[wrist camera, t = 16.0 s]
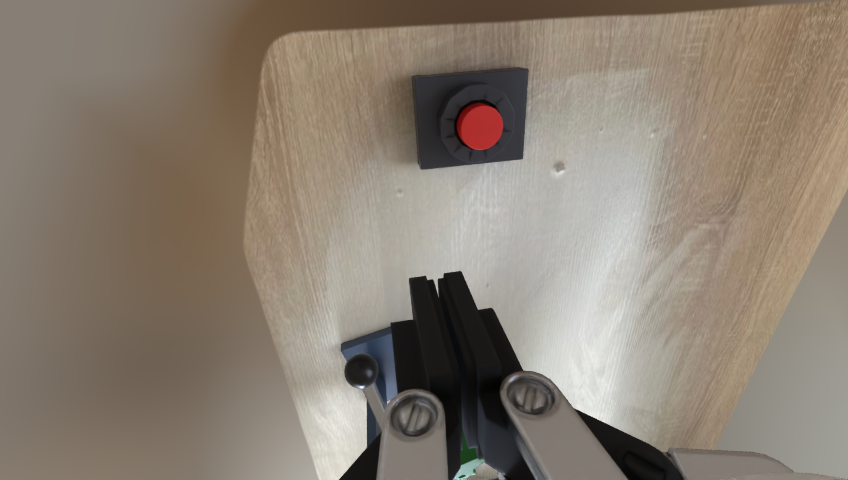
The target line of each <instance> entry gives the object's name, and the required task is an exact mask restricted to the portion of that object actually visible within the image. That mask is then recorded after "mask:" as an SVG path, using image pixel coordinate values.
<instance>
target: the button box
mask: <svg viewBox="0 0 848 480" xmlns="http://www.w3.org/2000/svg"><path fill="white" fill-rule="evenodd" d="M528 70H529V69H526V68H520V67H518V68H505V69H493V70H481V71H468V72H456V73H444V74H431V75H419V76H412V86H413V100H414V114H415V128H416V142H417V155H418V164H419V166H420V168H421V170H424V169H433V168H443V167H452V166H462V165H472V164H481V163H491V162H500V161H510V160H519V159H523V150H524V134H525V118H526V102H527V86H528ZM473 103H484V104H486V105H489V106H490V107H492V108H494V109H496V110H497V111H498V112H499V114H500V115H501V117H502V121H503V130H502V134H501V136H500V138H499V140H498V141H497V142H496V143H495V144H494V145H493V146H491V147H490V148H487V149H484V150H476V149H473V148H471V147H469V146H468V145H467V144H466V143H465V142H464V141H463V140H462V139H461V138H460V137H459V135H458V132H457V120H458V117H459V115H460V113H461V112H462V110H463V109H464V108H466V107H467V106H469V105H471V104H473Z"/></svg>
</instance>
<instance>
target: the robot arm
mask: <svg viewBox="0 0 848 480" xmlns="http://www.w3.org/2000/svg"><path fill="white" fill-rule="evenodd" d="M409 285H410V294H411V304H412V313H413V320H407V321H400V322H394V323H391V332H392V343H393V353H394V363H395V373H396V383H397V393H398V394H397V395H396V396H395V397H394V398H392V399H391V400H390V402H389V403H388V405H387V406H386V409H385V412H384V416H383V425H382V431H381V432H380V434H379V435H378V436H377V437H376V438H375V439H374V440H373V442H372V443H371V444H370V445H369V446H368V447H367V448H366V450H365V451H364V452H363V453H362V454H361V455H360V456H359V457H358V459H357V460H356V461H355V462H354V463H353V464H352V465H351V467H350V468H349V469H348V470H347V471H346V472H345V473H344V475H343V476H342V477H341V478H340V479H339V480H453V479H454V477H455V476H456V474H457V473H458V471H459V470H460V468H461V458H460V450H463V437H462V427H463V431H464V435H465V439H466V443H467V446H468V448H469V449H470V448H475V449H476V453H477V457H478V460H482V459H484V461H485V463H486V464H488V465H489V466H491V467H492V468H494V469H495V470H497V474H498V477H499V480H848V479H843V478H838V477H833V476H826V475H819V474H811V473H795V472H794V471H793V470H791V469H790V468H788V467H787V466H786V465H784V464H783V463H781V462H780V461H778V460H776V459H774V458H772V457H769V456H767V455H765V454H760V453H754V452H742V451H723V450H703V449H683V448H669V449H668V452H661V451H660V450H658V449H656V448H655V447H653V446H651V445H650V444H648V443H646V442H643V441H641V440H639V439H637V438H635V437H633V436H631V435H629V434H627V433H625V432H623V431H620V430H618V429H616V428H614V427H612V426H610V425H608V424H606V423H604V422H602V421H599V420H597V419H595V418H593V417H591V416H589V415H587V414H585V413H583V412H581V411H579V410H576V409H574V408H573V407H572V405H571V404H570V403H569V402H568V400H567V399H566V398H565V396H564V395H563V394H562V392H561V391H560V390H559V388H558V387H557V386H556V385H555V384H554V383H553V382H552V381H551V380H550V379H549V378H547V377H545V376H544V375H542V374H539V373H536V372H533V371H523V369H522V367H521V365H520V363H519V361H518V359H517V357H516V355H515V352H514V350H513V348H512V346H511V344H510V342H509V340H508V338H507V336H506V334H505V332H504V330H503V328H502V326H501V324H500V322H499V320H498V318H497V315H496V313H495V312H494V310H493V309H492V308H487V309H481V310H478V309H477V307H476V304H475V302H474V300H473V297H472V295H471V293H470V290H469V288H468V286H467V283H466V281H465V279H464V276H463V274H462V272H461V271H458V272H450V273H444V278H440V279H438V292H439V297H438V294H437V291H436V287H435V284H434V281H433V280H427V278H426V276H421V277H414V278H409Z"/></svg>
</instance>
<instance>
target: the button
mask: <svg viewBox="0 0 848 480" xmlns="http://www.w3.org/2000/svg"><path fill="white" fill-rule="evenodd" d="M502 130H503V121H502V117H501V115H500V114H499V112H498V111H497V110H496V109H494V108H492V107H490V106H489V105H486V104H484V103H473V104H471V105H469V106H467V107H466V108H464V109H463V110H462V112H461V113H460V115H459V117H458V120H457V132H458V135H459V137H460V138H461V139H462V140H463V141H464V142H465V143H466V144H467V145H468V146H469V147H471V148H473V149H476V150H484V149H487V148H490V147H491V146H493V145H494V144H495V143H496V142H497V141H498V140H499V138H500V136H501V134H502Z"/></svg>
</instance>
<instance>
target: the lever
mask: <svg viewBox="0 0 848 480" xmlns="http://www.w3.org/2000/svg"><path fill="white" fill-rule="evenodd" d="M378 371H379V370H378V364H377V362H376V360H375V359H374V357H372V356H371V355H369V354H367V353H358V354H355V355H353V356H352V357H351V358H350V359H349V360H348V361H347V363H346V365H345V371H344V373H345V378H346V380H347V382H348V383H349V384H350V385H351V386H353V387H355V388H360V389H361V388H362V390H363V392H364V394H365V396H366V398H367V400H368V403H369V405H370V407H371V409H372V411H373V413H374V415H375V418H376V420H377V422H378V424H379V426H380V428H381V430H382V425H383V416H384V412H385V409H386V406H385V404H384V402H383V399H382V397H381V395H380V393H379V390H378V388H377V386H376V384H375V382H374V381H375V380H376V378H377V376H378Z"/></svg>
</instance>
